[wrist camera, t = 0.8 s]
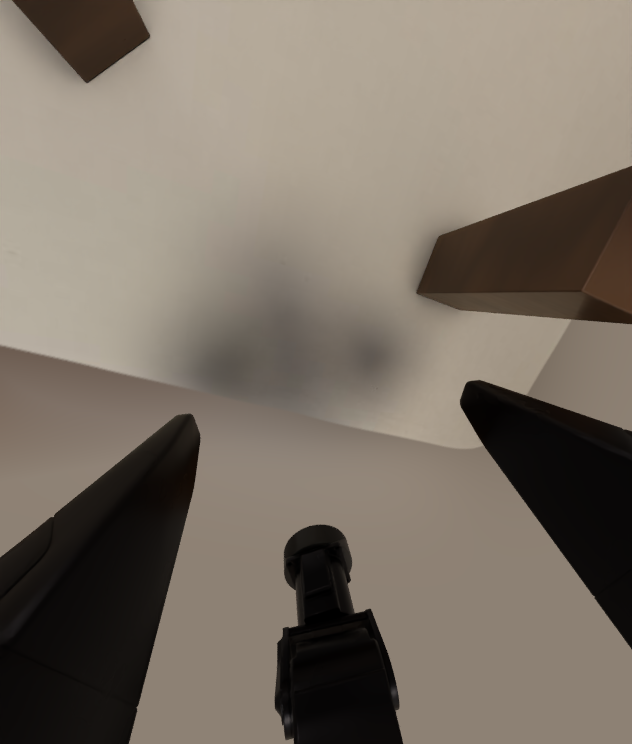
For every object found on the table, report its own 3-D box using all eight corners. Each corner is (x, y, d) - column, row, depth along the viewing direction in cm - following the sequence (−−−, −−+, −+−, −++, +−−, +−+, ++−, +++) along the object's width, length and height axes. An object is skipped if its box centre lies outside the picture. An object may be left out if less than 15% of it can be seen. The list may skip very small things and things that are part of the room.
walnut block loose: (461, 310, 22) (659, 326, 11) (415, 293, 21) (581, 291, 10) (484, 256, 21) (733, 209, 10) (438, 235, 20) (655, 156, 9)
